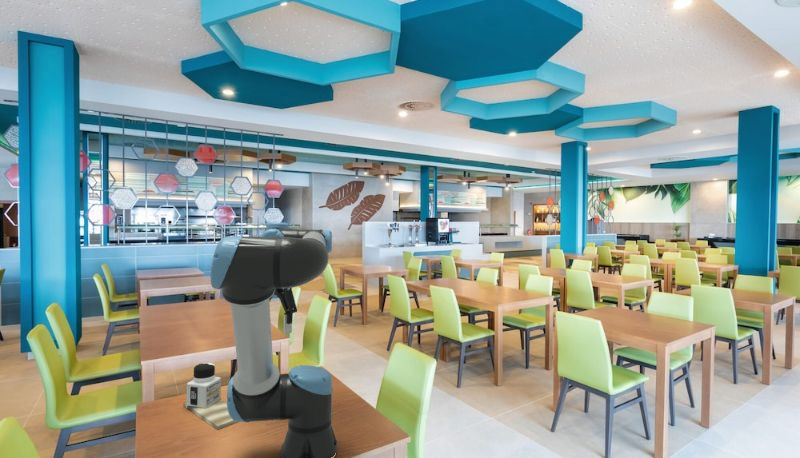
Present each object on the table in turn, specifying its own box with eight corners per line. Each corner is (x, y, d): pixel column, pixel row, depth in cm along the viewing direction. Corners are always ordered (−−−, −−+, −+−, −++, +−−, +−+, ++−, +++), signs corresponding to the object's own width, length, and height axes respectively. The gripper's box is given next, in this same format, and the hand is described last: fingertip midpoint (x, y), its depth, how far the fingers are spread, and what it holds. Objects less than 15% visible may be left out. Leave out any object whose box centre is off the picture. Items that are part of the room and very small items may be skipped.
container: (206, 408, 137) (206, 369, 137) (186, 405, 139) (186, 367, 138) (221, 399, 144) (221, 362, 144) (202, 396, 146) (202, 359, 146)
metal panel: (247, 418, 134) (247, 414, 133) (217, 429, 126) (217, 426, 126) (212, 396, 149) (212, 393, 149) (183, 405, 141) (183, 402, 141)
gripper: (308, 270, 136) (307, 334, 137) (266, 263, 152) (265, 321, 153) (289, 271, 130) (288, 338, 131) (247, 265, 146) (246, 324, 147)
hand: (275, 329), depth 142 cm, fingers open, 13 cm apart
